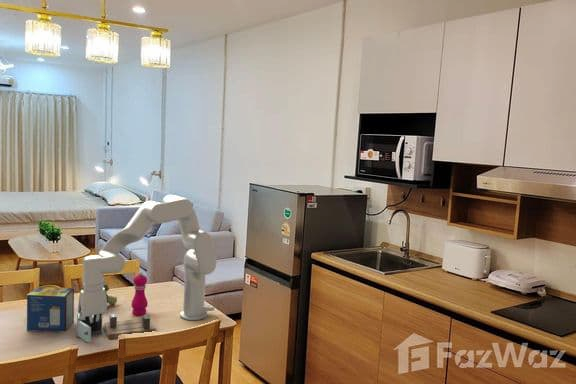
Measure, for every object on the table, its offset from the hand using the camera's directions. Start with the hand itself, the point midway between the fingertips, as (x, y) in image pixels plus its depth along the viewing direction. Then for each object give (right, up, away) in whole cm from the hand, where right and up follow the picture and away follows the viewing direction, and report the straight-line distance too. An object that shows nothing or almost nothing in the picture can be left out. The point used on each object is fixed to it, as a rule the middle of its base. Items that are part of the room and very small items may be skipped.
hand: (93, 330), depth 190 cm
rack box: (-5, -2, +9) cm, 11 cm away
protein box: (-22, -1, +10) cm, 24 cm away
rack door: (-4, -3, 0) cm, 5 cm away
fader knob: (+4, -1, +10) cm, 11 cm away
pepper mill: (+9, -1, +31) cm, 32 cm away
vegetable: (-11, +1, +36) cm, 38 cm away
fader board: (+11, -3, +11) cm, 16 cm away
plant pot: (-33, +1, +29) cm, 44 cm away
